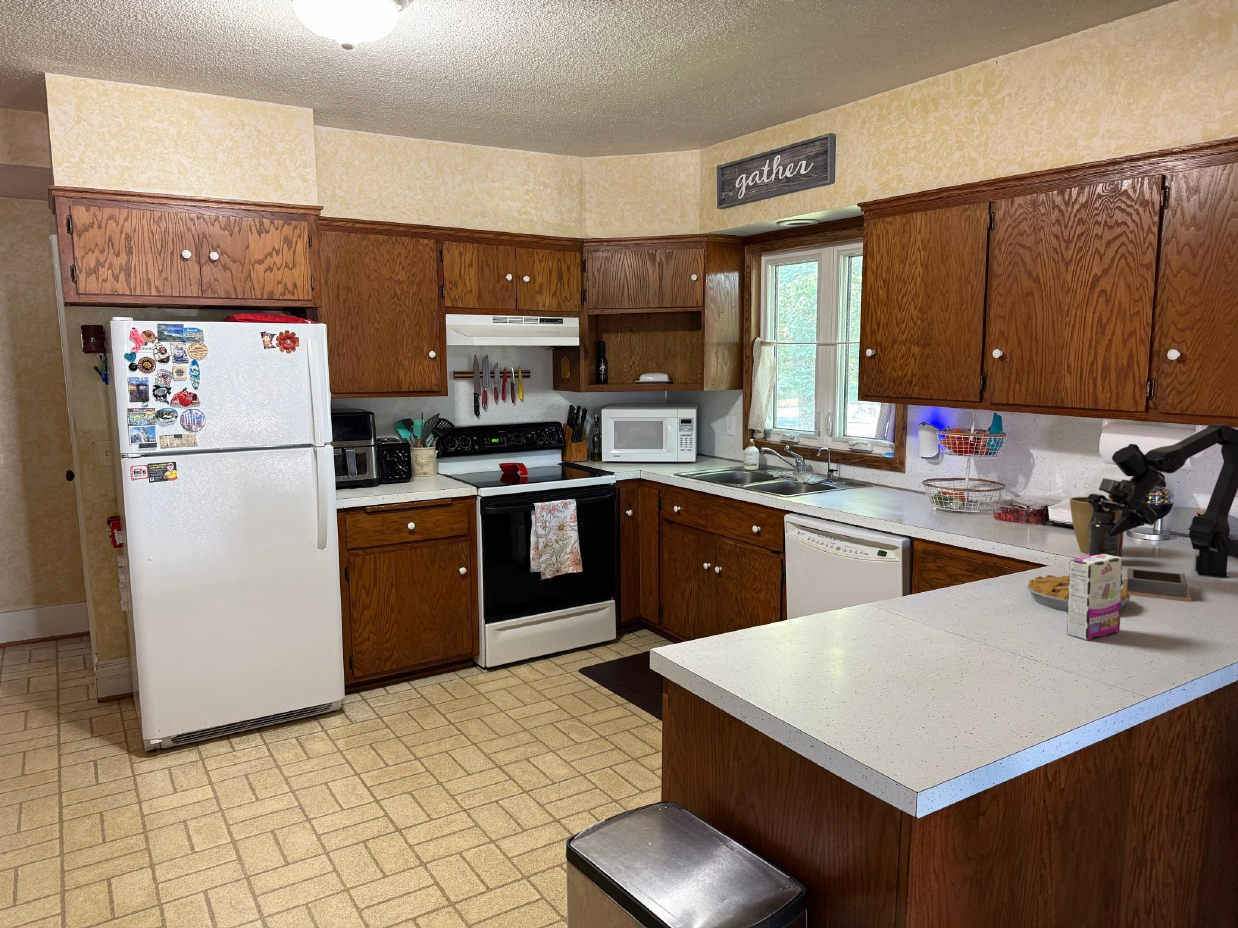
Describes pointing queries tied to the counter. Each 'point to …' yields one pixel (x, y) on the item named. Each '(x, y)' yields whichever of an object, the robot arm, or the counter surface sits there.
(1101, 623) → the candy bar box
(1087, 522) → the plant pot
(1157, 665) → the counter surface
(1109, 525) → the supplement bottle
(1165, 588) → the grey square tray
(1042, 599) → the pie
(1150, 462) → the robot arm
